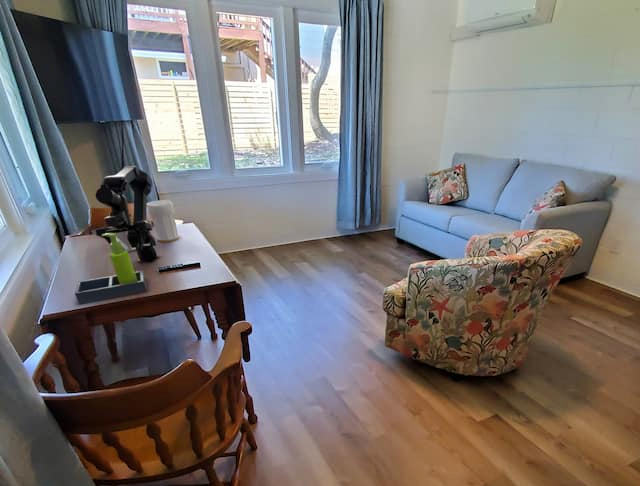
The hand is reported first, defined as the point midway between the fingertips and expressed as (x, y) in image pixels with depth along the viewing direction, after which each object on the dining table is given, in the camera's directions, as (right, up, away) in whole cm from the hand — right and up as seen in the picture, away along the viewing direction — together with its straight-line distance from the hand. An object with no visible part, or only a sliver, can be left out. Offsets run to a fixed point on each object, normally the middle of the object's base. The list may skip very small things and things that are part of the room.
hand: (128, 251), depth 151 cm
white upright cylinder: (-7, +16, +45) cm, 49 cm away
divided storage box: (-2, -16, -5) cm, 17 cm away
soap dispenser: (+2, -14, -3) cm, 14 cm away
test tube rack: (-25, +12, +39) cm, 48 cm away
